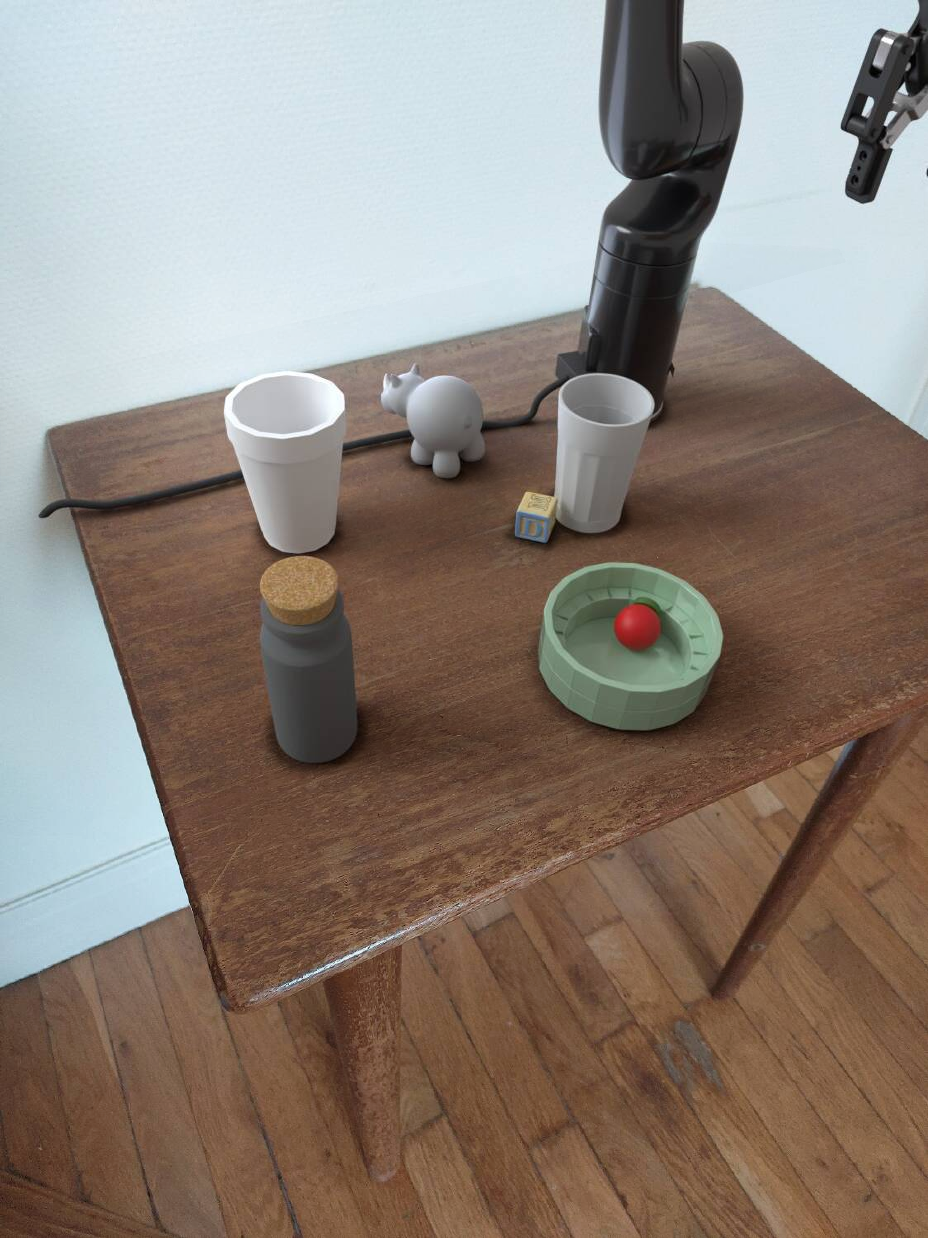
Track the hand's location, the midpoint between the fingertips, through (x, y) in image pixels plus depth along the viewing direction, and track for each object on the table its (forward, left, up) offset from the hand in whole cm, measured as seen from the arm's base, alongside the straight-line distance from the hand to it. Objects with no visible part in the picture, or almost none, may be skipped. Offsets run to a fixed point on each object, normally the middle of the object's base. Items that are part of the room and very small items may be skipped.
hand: (899, 189), depth 66 cm
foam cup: (-45, -7, -29) cm, 54 cm away
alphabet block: (-24, -6, -29) cm, 38 cm away
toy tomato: (-18, -21, -27) cm, 39 cm away
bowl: (-18, -22, -29) cm, 40 cm away
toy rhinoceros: (-34, +6, -29) cm, 45 cm away
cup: (-19, -3, -29) cm, 35 cm away
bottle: (-41, -29, -29) cm, 58 cm away
